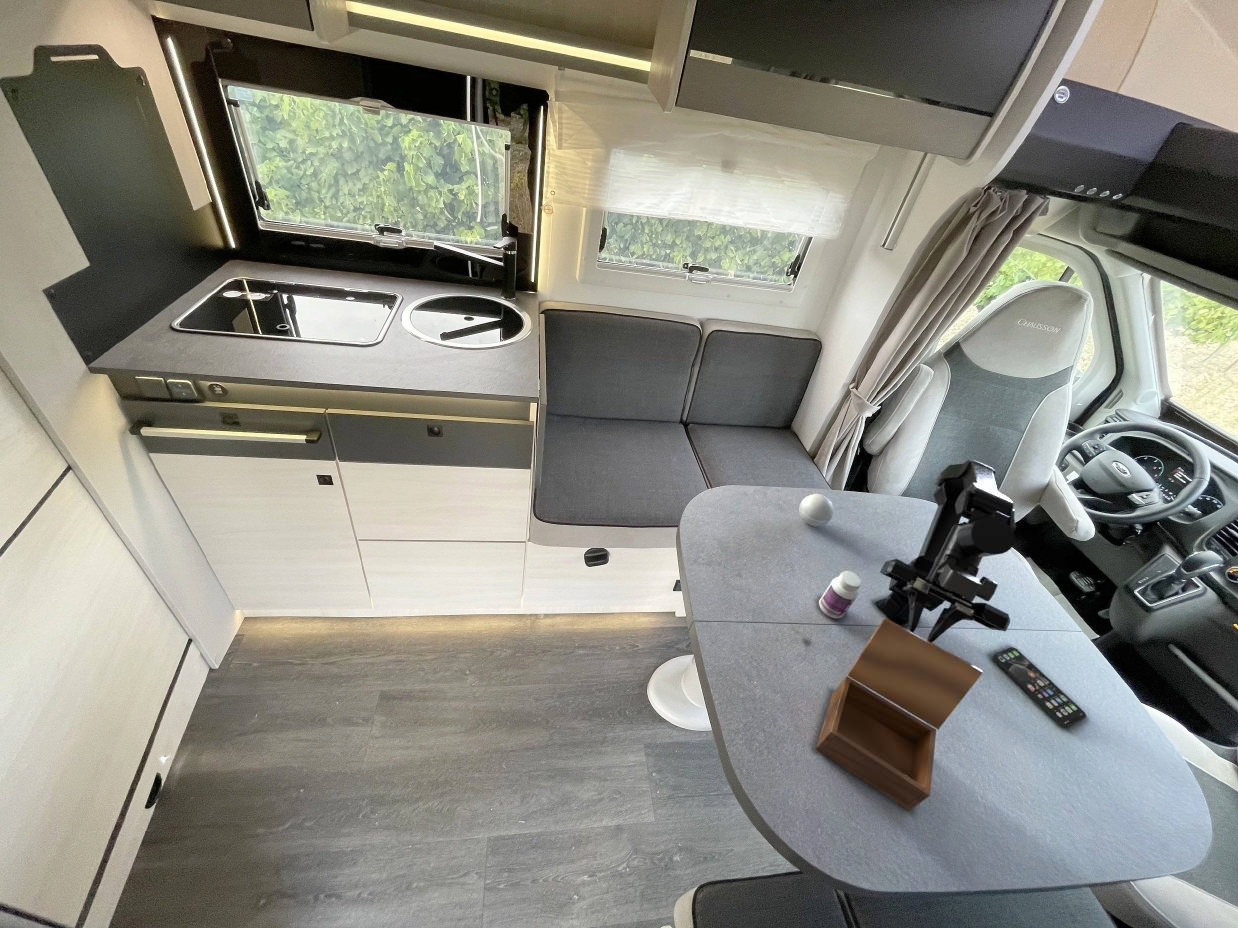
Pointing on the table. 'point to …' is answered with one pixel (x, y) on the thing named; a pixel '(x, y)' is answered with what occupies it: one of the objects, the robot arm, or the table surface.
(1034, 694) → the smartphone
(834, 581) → the pill bottle
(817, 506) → the bath bomb
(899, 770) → the chest
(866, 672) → the lid
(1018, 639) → the table surface
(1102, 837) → the table surface
